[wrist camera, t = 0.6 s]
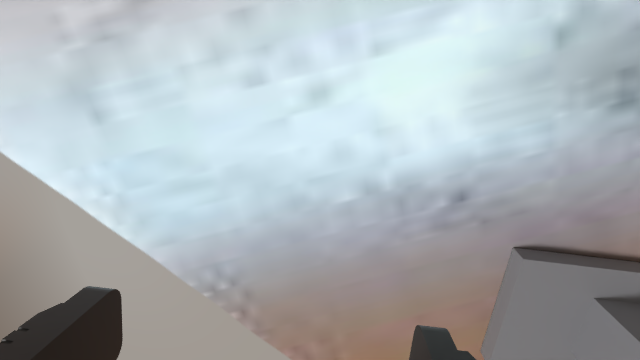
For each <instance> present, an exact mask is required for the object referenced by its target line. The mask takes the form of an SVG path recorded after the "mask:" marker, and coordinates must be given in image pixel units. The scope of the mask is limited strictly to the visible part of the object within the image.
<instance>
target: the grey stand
mask: <svg viewBox="0 0 640 360" xmlns="http://www.w3.org/2000/svg"><path fill="white" fill-rule="evenodd" d="M481 353H482V355H483V357H484V360H640V262H632V261H624V260H615V259H606V258H598V257H589V256H581V255H572V254H564V253H555V252H547V251H538V250H530V249H521V248H513V249H512V252H511V256H510V259H509V262H508V265H507V268H506V271H505V275H504V278H503V281H502V284H501V287H500V290H499V294H498V297H497V300H496V303H495V306H494V309H493V313H492V316H491V319H490V322H489V325H488V328H487V332H486V335H485V338H484V341H483V344H482V347H481Z"/></svg>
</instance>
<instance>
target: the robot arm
mask: <svg viewBox="0 0 640 360" xmlns="http://www.w3.org/2000/svg"><path fill="white" fill-rule="evenodd" d="M121 346H122V309H121V294H120V292H119V291H118V290H116V289H109V288H100V287H91V286H88V287H86V288H83V289H82V290H81V291H79V292H78V293H77V294H75V295H74V296H73V297H71V298H70V299H69V300H67V301H66V302H65V303H60V304H58V305H56V306H54V307H52V308H49V309H47V310H45V311H43V312H40V313H38V314H37V315H35V316H34V317H32V318H31V319H30V320H28V321H27V322H25V323H24V324H23V325H21V326H20V327H19V328H18V330H17V331H13V332H12V333H10V334H9V335H8V336H6V337H5V338H3V339H2V342H1V343H0V360H116V359H117V357H118V355H119V353H120V350H121ZM409 360H476V359H475V358H474V357H473V356H472V355H471V354H470V353H469V352H467V351H459V350H457V348H456V346H455V344H454V342H453V340H452V338H451V336H450V333H449V332H448V330H447V329H446V328H438V327H429V326H421V325H417V326H416V328H415V331H414V336H413V341H412V347H411V352H410V358H409Z"/></svg>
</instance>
